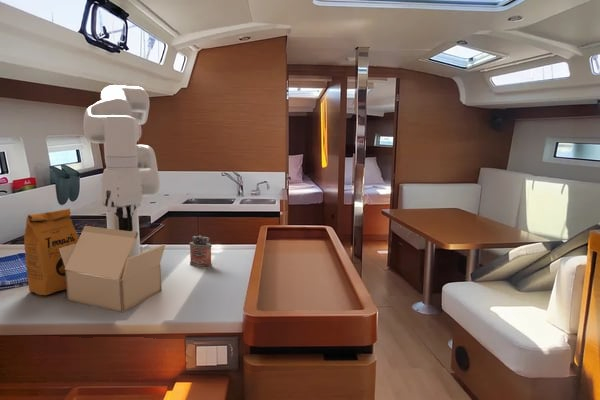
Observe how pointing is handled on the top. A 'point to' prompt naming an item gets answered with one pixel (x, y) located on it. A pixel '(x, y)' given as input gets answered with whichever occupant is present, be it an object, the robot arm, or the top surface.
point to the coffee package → (47, 250)
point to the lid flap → (101, 252)
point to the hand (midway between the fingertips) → (125, 231)
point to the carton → (116, 282)
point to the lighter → (200, 252)
